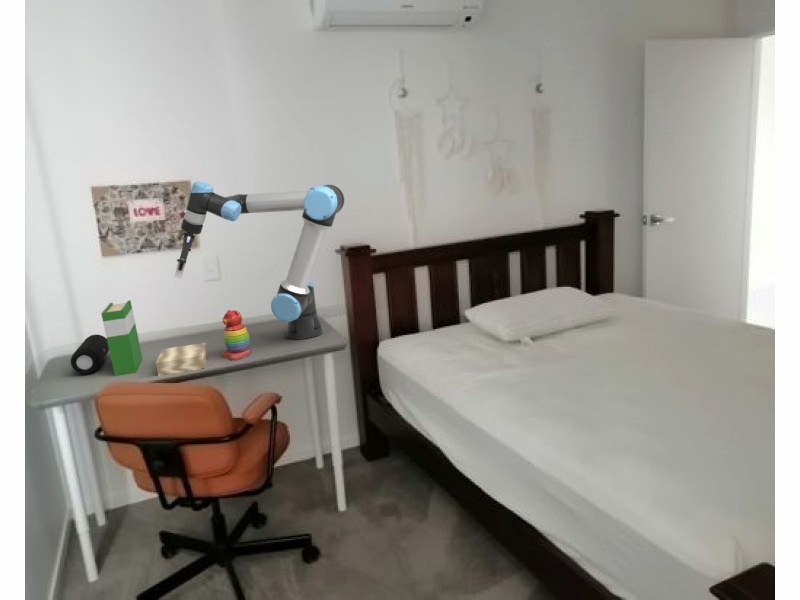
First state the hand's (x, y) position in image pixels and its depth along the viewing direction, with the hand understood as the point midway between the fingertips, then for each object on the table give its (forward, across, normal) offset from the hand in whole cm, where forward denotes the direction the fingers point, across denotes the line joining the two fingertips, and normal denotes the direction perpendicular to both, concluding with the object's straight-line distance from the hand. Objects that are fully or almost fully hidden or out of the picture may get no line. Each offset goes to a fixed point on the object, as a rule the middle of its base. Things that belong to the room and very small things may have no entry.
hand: (179, 271), depth 238 cm
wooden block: (+26, +25, +10) cm, 38 cm away
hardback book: (+37, +17, -8) cm, 41 cm away
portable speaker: (+45, +8, -21) cm, 50 cm away
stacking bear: (+19, +24, +29) cm, 42 cm away
